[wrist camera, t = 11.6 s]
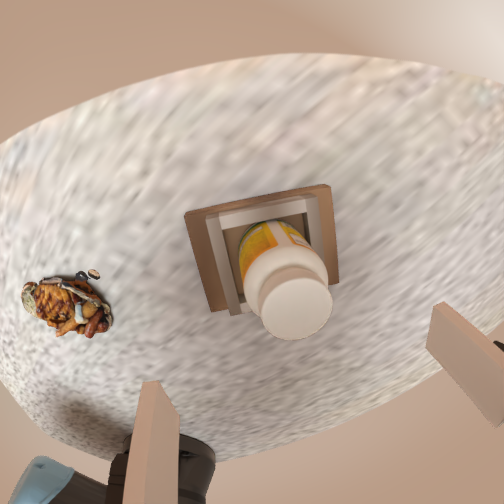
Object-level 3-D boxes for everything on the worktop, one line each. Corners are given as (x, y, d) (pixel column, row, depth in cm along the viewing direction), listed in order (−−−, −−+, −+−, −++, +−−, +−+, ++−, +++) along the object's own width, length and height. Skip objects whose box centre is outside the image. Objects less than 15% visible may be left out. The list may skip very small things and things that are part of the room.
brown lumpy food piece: (18, 279, 24) (2, 293, 21) (98, 265, 25) (85, 281, 21) (40, 330, 26) (28, 347, 23) (120, 325, 27) (111, 345, 24)
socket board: (211, 303, 27) (211, 322, 24) (186, 212, 24) (181, 222, 21) (333, 275, 27) (345, 290, 24) (324, 184, 24) (338, 189, 21)
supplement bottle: (301, 215, 23) (351, 261, 14) (299, 274, 25) (339, 342, 16) (235, 219, 23) (246, 270, 14) (238, 280, 25) (250, 355, 16)
